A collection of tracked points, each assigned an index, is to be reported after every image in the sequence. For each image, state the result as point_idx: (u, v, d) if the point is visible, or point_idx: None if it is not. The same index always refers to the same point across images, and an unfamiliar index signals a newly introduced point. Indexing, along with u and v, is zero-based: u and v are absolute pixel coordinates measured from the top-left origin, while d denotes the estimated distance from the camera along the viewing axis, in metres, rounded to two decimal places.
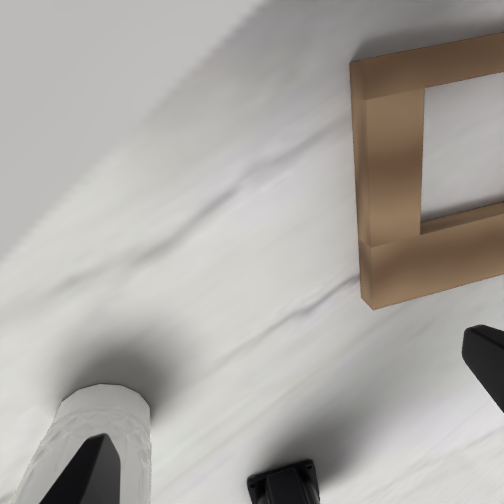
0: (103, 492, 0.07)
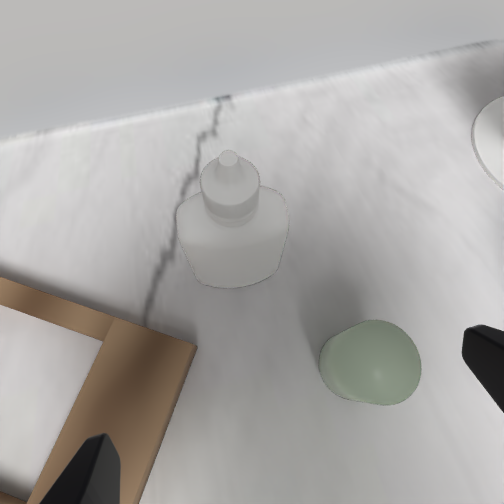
0: (103, 492, 0.07)
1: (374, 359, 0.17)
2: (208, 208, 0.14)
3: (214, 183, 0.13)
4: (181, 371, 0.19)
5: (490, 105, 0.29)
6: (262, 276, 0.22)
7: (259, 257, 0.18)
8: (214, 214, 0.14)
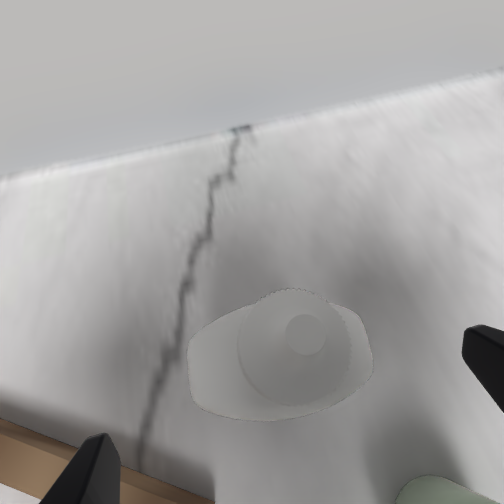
0: (103, 492, 0.07)
1: None
2: (249, 382, 0.08)
3: (268, 361, 0.07)
4: None
5: None
6: None
7: None
8: (260, 393, 0.08)
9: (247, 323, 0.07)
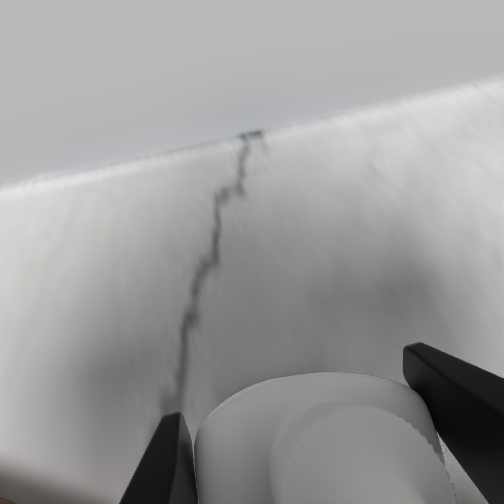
0: (186, 467, 0.07)
1: None
2: None
3: None
4: None
5: None
6: None
7: None
8: None
9: (294, 471, 0.05)
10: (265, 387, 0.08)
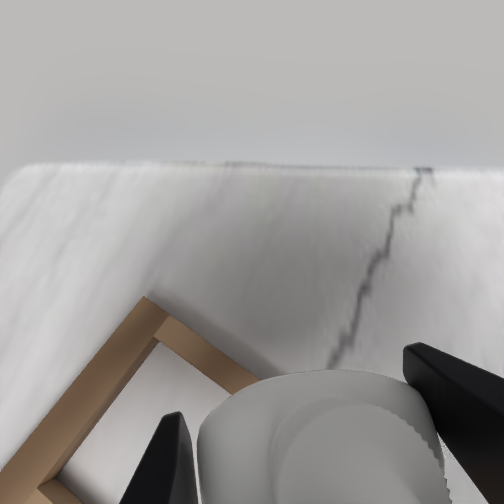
0: (186, 467, 0.07)
1: None
2: None
3: None
4: None
5: None
6: None
7: None
8: None
9: (291, 466, 0.05)
10: (266, 384, 0.08)
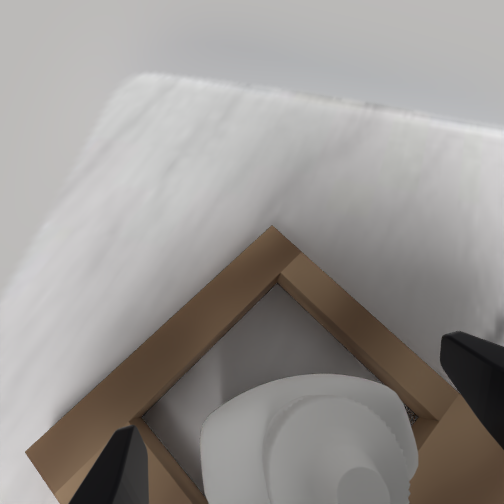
0: (135, 482, 0.07)
1: None
2: None
3: None
4: None
5: None
6: None
7: None
8: None
9: (278, 447, 0.06)
10: (261, 386, 0.09)
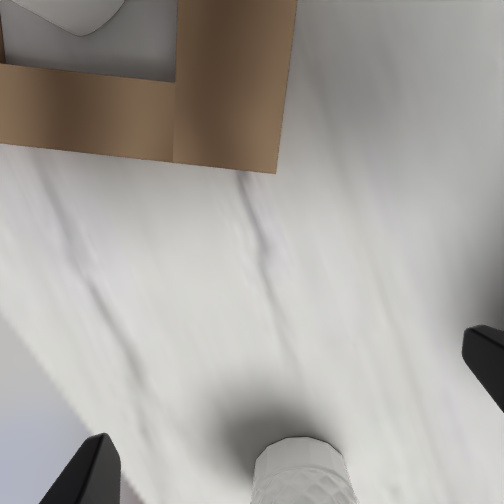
0: (103, 492, 0.07)
1: None
2: None
3: None
4: None
5: None
6: None
7: None
8: None
9: None
10: None
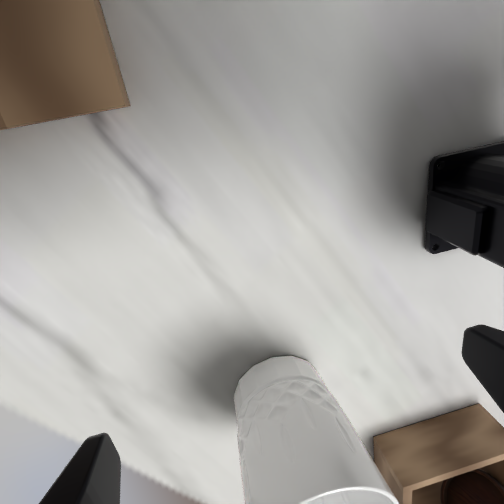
0: (103, 492, 0.07)
1: None
2: None
3: None
4: None
5: None
6: None
7: None
8: None
9: None
10: None
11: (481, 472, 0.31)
